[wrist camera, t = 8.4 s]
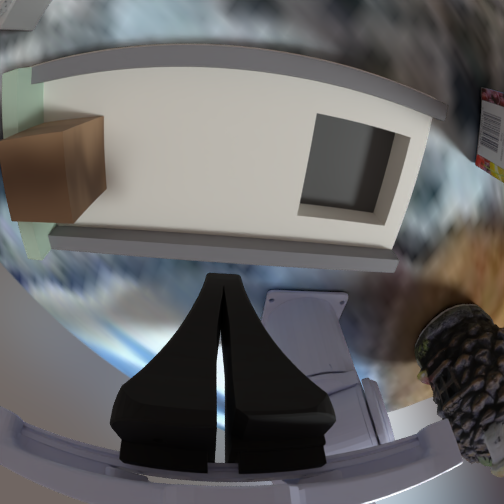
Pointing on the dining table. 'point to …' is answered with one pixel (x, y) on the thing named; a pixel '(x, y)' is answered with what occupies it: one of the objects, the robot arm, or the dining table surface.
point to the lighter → (21, 14)
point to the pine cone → (467, 380)
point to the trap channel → (232, 154)
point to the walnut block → (54, 170)
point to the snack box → (491, 134)
